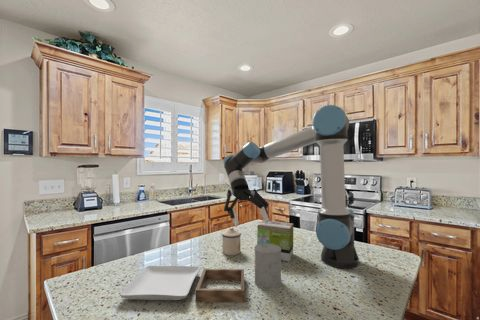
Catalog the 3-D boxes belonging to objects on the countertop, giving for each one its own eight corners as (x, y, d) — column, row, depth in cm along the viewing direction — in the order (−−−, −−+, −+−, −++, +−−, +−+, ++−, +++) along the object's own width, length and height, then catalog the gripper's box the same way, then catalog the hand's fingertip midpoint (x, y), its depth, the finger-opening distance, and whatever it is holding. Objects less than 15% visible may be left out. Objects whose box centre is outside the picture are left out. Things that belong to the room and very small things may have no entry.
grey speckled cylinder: (283, 278, 89) (283, 245, 89) (278, 291, 80) (278, 254, 80) (258, 274, 92) (258, 242, 92) (251, 286, 83) (251, 250, 83)
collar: (244, 278, 88) (244, 269, 89) (244, 302, 73) (244, 290, 74) (203, 278, 89) (203, 268, 89) (195, 301, 74) (195, 290, 74)
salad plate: (146, 273, 93) (146, 264, 93) (201, 274, 93) (201, 265, 93) (117, 305, 72) (117, 294, 72) (187, 307, 72) (187, 295, 72)
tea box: (256, 257, 109) (256, 224, 109) (263, 249, 118) (263, 219, 118) (289, 262, 103) (289, 227, 103) (293, 254, 113) (293, 222, 113)
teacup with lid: (243, 254, 111) (243, 229, 112) (223, 256, 109) (223, 231, 109) (237, 246, 123) (237, 223, 123) (219, 247, 121) (219, 224, 121)
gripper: (259, 187, 117) (275, 225, 104) (210, 188, 107) (221, 231, 94) (264, 176, 113) (282, 215, 99) (214, 177, 102) (225, 221, 89)
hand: (252, 223), depth 96 cm, fingers open, 13 cm apart
